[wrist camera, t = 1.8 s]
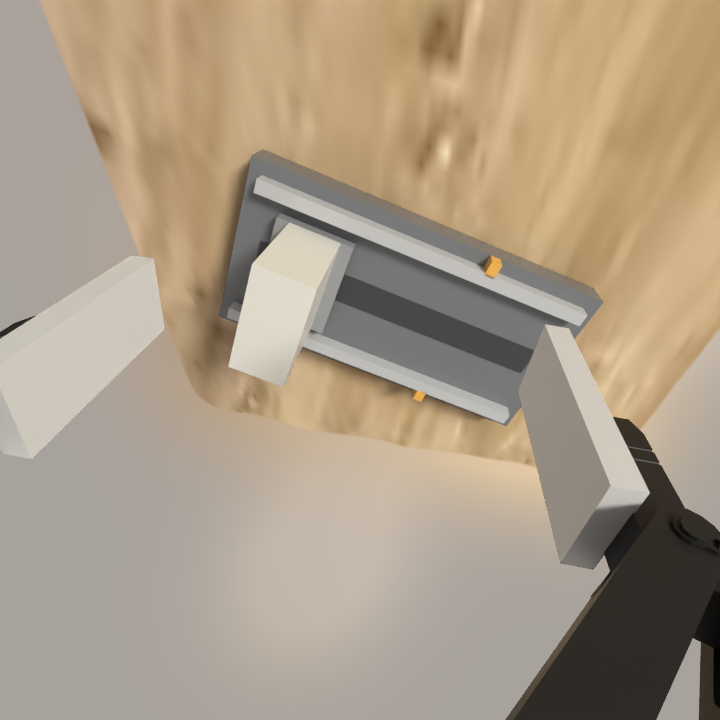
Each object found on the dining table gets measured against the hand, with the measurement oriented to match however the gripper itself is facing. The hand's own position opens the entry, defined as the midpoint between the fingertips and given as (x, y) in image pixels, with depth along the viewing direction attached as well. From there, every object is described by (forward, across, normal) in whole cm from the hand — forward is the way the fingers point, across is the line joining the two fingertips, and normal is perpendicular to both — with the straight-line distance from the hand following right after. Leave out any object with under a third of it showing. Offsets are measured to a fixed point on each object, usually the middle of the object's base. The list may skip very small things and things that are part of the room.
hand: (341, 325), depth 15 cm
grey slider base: (+22, +2, -9) cm, 24 cm away
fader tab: (+19, -6, -7) cm, 22 cm away
